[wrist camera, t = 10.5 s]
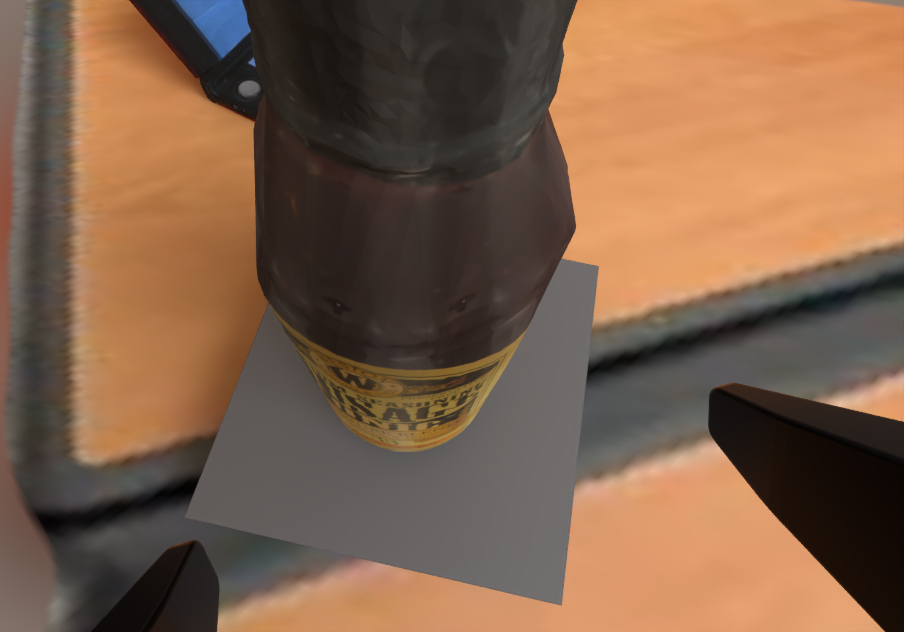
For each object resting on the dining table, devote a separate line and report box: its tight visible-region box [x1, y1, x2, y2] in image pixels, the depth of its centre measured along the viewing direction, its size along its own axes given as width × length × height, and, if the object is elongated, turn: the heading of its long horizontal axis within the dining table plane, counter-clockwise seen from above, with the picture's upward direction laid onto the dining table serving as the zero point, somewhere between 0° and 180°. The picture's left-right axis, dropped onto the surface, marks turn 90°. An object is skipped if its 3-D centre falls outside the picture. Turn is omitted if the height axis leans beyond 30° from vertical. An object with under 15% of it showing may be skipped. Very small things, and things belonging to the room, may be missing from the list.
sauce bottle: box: [242, 0, 577, 452], centre depth 12 cm, size 6×6×20 cm
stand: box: [185, 259, 599, 605], centre depth 22 cm, size 14×14×2 cm
